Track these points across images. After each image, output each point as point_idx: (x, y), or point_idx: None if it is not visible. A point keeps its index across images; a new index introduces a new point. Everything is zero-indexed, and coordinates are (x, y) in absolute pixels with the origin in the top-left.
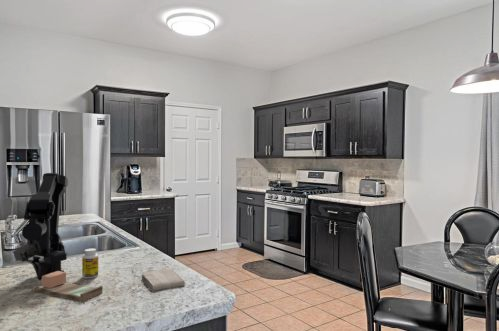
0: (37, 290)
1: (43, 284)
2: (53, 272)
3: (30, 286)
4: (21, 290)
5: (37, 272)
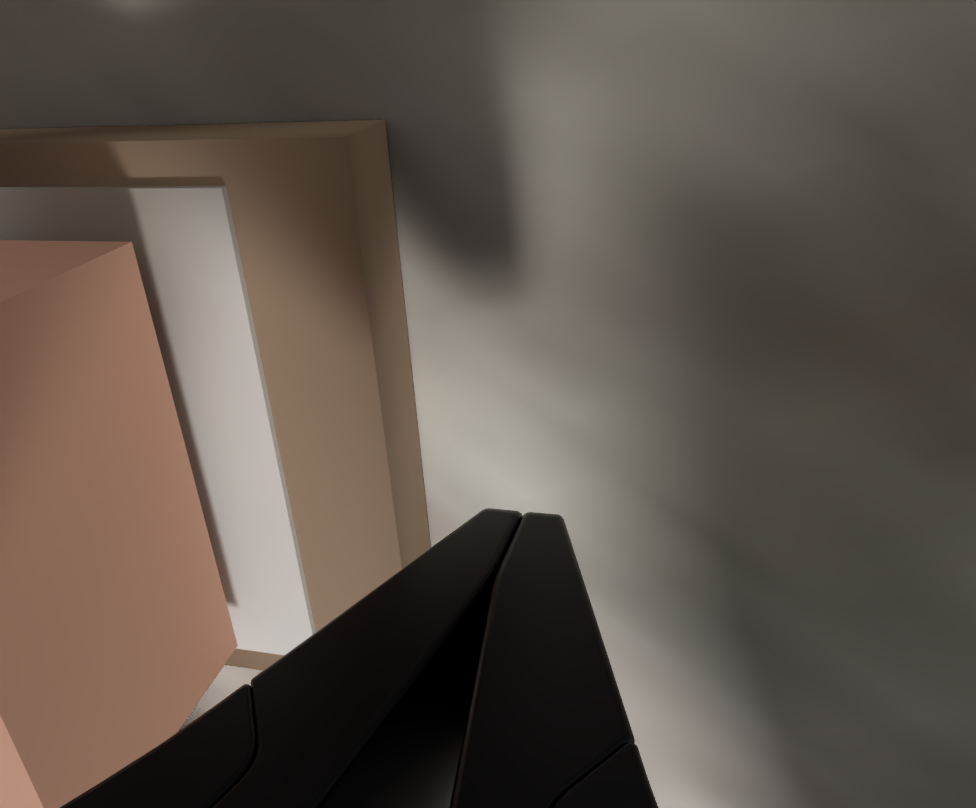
0: (234, 132)
1: (19, 258)
2: (5, 760)
3: (876, 369)
4: (841, 9)
5: (482, 661)
